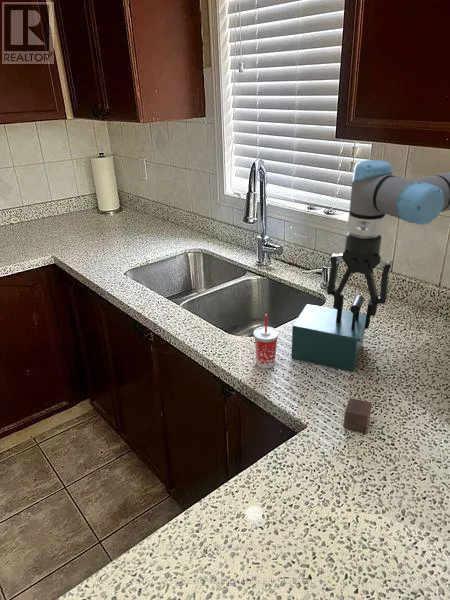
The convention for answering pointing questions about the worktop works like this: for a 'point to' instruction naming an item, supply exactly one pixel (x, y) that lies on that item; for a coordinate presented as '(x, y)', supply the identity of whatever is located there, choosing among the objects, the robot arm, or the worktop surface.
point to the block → (357, 415)
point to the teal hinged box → (325, 349)
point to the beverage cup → (265, 345)
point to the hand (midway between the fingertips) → (352, 323)
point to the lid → (333, 321)
